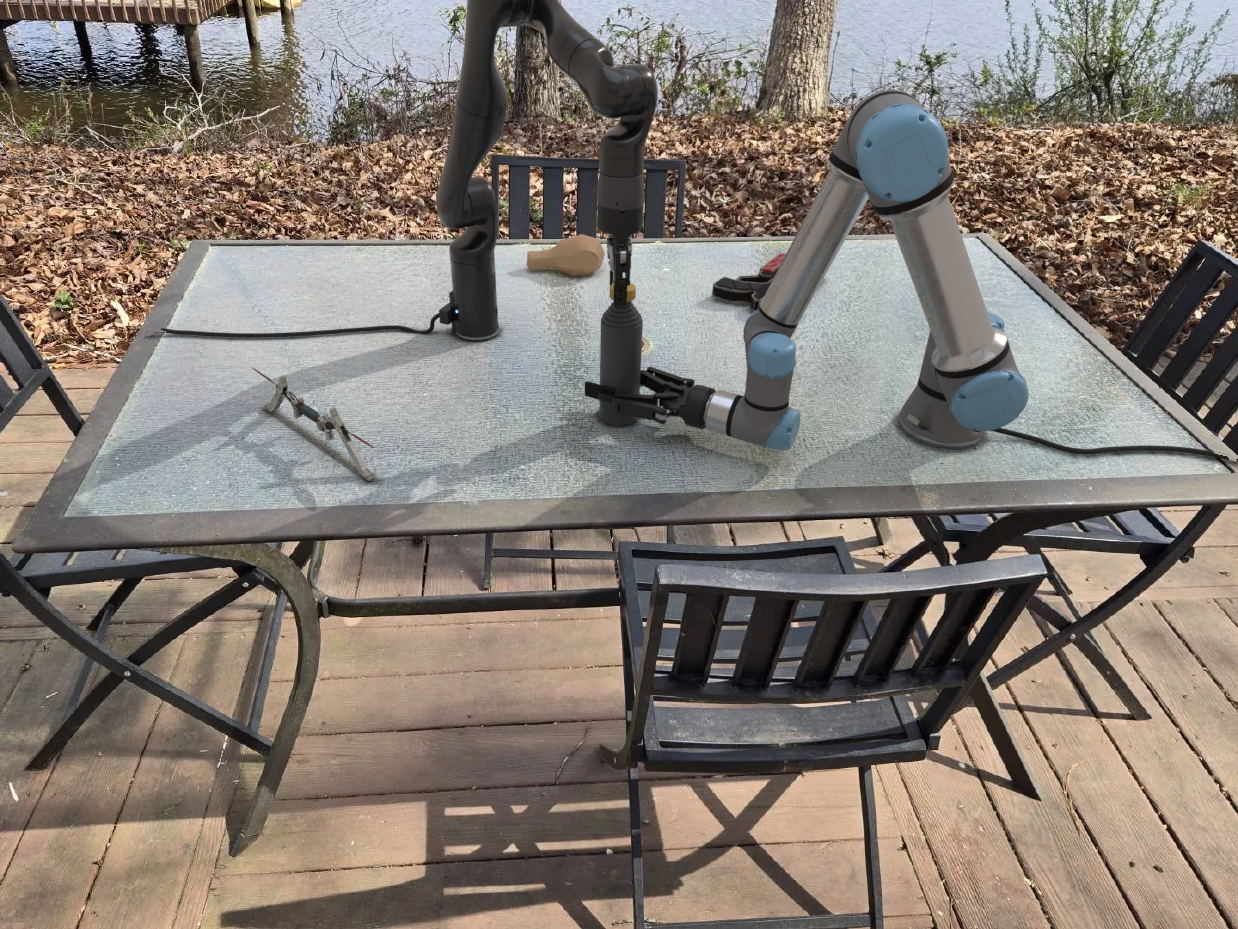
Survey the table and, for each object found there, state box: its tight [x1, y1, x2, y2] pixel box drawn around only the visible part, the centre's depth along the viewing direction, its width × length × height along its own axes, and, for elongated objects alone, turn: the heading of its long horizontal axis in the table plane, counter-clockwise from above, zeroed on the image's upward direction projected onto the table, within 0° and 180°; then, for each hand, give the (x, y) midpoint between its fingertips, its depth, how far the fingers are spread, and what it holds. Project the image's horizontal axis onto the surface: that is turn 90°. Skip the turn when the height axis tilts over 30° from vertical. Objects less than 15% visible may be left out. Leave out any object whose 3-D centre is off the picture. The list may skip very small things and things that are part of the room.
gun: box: [711, 252, 787, 313], centre depth 215 cm, size 4×31×19 cm
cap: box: [609, 282, 637, 302], centre depth 151 cm, size 4×4×2 cm
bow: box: [250, 366, 376, 482], centre depth 151 cm, size 39×2×10 cm, turn 47°
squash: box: [526, 233, 606, 277], centre depth 222 cm, size 11×20×9 cm, turn 90°
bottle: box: [598, 300, 644, 427], centre depth 157 cm, size 7×7×25 cm
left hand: (617, 296), depth 150 cm, fingers open, 7 cm apart
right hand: (596, 379), depth 162 cm, fingers closed on bottle, 7 cm apart
